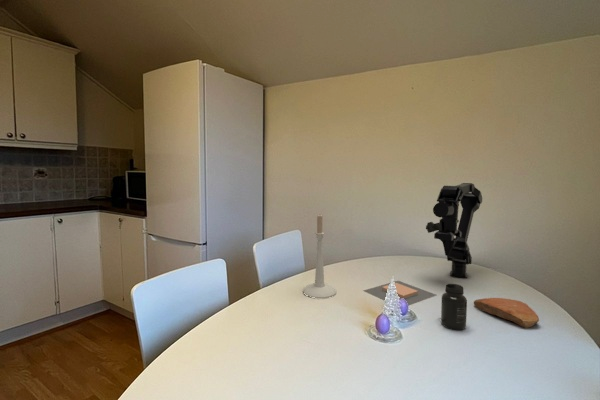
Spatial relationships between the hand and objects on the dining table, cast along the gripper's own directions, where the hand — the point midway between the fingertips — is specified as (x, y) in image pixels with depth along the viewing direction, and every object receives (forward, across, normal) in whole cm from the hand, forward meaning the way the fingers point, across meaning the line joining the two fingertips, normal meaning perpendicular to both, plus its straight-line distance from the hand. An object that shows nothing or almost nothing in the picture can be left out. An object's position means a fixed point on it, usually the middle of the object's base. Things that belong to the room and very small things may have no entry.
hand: (446, 255), depth 126 cm
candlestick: (+16, +37, -36) cm, 54 cm away
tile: (+12, +17, -10) cm, 23 cm away
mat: (+14, +20, -11) cm, 27 cm away
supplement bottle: (+15, +33, +10) cm, 38 cm away
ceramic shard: (+14, +17, +23) cm, 31 cm away
